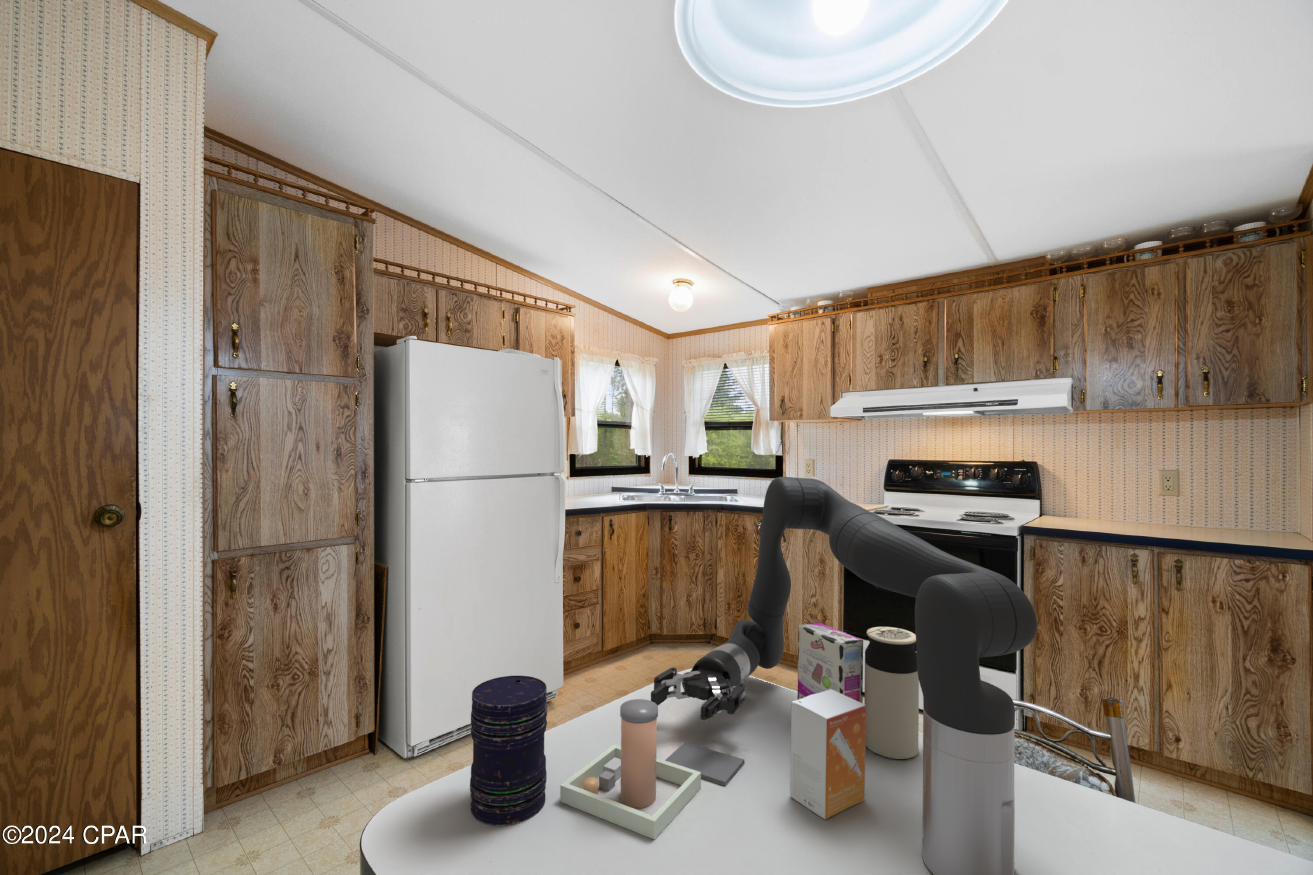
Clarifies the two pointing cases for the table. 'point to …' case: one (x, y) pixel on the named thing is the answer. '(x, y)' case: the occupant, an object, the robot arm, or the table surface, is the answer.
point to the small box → (827, 752)
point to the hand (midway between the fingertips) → (677, 706)
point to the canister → (638, 752)
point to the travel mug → (891, 693)
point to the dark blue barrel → (508, 750)
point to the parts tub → (585, 797)
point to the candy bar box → (829, 661)
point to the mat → (707, 762)
